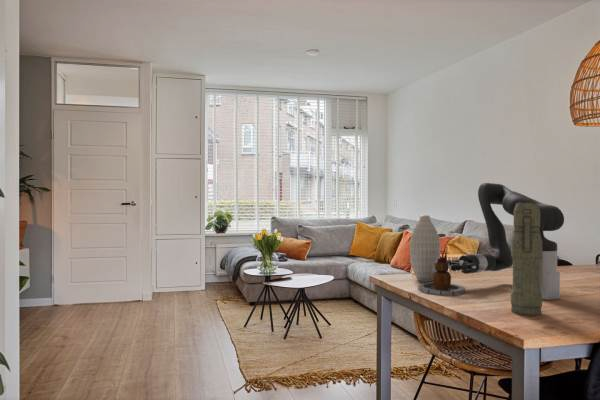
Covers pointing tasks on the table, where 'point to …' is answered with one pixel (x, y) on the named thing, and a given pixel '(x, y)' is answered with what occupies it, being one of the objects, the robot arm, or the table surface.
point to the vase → (424, 249)
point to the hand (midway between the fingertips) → (443, 266)
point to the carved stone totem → (526, 260)
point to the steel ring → (426, 286)
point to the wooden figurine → (442, 274)
